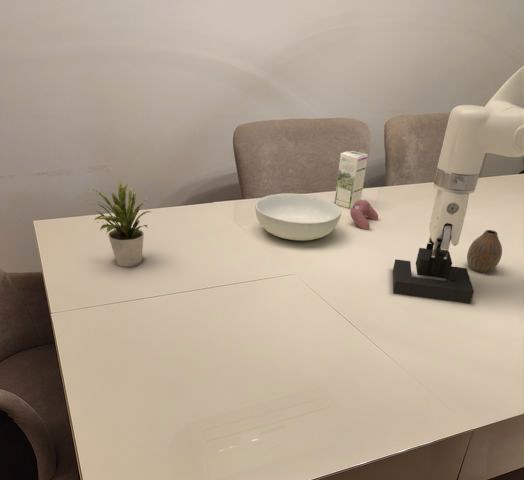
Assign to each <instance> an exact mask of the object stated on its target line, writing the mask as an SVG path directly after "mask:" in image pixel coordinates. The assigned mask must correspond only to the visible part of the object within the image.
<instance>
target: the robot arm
mask: <svg viewBox="0 0 524 480" xmlns="http://www.w3.org/2000/svg"><path fill="white" fill-rule="evenodd" d="M439 153H440V154H439V158H438V161H437V167H436V171H435V174H434V179H433V183H432V186H433V187H434V188H435V189H436V190H437V191H436V194H435V198H434V201H433V205H432V211H431V215H430V220H429V224H428V225H429V227H428V229H429V238H428V242H427V244H426V247H425V249H433V251H432V256H430V257H429V261H428V265H427V269H426V273H425V274H426V276H425V277H428V276H432V277H431V278H436V277H439V278H438V279H441V278H440V277H442V275H443V271H444V267H445V264H446V260H447V255H448V251H449V249H450V245H452V246H454V247H456V246H458V245H459V242H460V238H461V235H462V230H463V226H464V222H465V217H466V214H467V209H468V204H469V198H470V197H469V196H470V194H472V193H474V192H475V190H476V187H477V184H478V180H479V177H480V173H481V170H482V167H483V163H484V159H485V156H486V154H493V155H498V156H503V157H506V158H507V157H508V158H520V157H523V156H524V65H523V66H521V67H520V68H519V69H518V70H517V71H516V72H514V73H513V74H512V75H510V77H509V78H508V79H507V80H505V82H504V83H503V84H502V85H501V86H500V88H499V89H498V90H497V91H496V92H495V93H494V95H492V97H491V98H490V99H489V101H487V103H486V104H485V105H484V106H482V105H475V104H460V105H456V106H455V107H453V108H452V110H451V111H450V113H449V117H448V121H447V125H446V129H445V133H444V137H443V141H442V146H441V150H440V152H439ZM436 250H437V251H436Z"/></svg>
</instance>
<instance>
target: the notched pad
mask: <svg viewBox="0 0 524 480" xmlns="http://www.w3.org/2000/svg"><path fill="white" fill-rule="evenodd" d="M411 263H412V262H411V260H405V259H397V258H396V259H394V261H393V268H392V294H393V295H401V296H409V297H416V298H423V299H430V300H437V301H445V302H452V303H453V302H454V303H461V304H467V305H471V302H472V299H473V296H474V293H475V290H474V287H473V284H472V281H471V278H470V275H469V271H468V269H467V267H460V266H453V265H452V266H451V269H450V273H449V276H448V279H447V280H443V279H435V278H428V277H419V276H413V273H412V264H411Z"/></svg>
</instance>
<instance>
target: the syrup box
mask: <svg viewBox="0 0 524 480" xmlns="http://www.w3.org/2000/svg"><path fill="white" fill-rule="evenodd" d="M368 157H369V154H368V153H364V152H360V151H353V150H347V151H344V152H341V153H340V155H339V164H338V172H337V180H336V189H335V195H334V196H335V198H334V203H335V204H336V205H338V206H339V207H343V208H346V209H350V210H351V208H352V207H353V205H354V203H355V202H356V201H359V200H362V196H363V190H364V189H363V188H364V183H365V177H366V170H367V164H368Z"/></svg>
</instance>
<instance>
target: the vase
mask: <svg viewBox="0 0 524 480" xmlns="http://www.w3.org/2000/svg"><path fill="white" fill-rule="evenodd" d="M502 255H503V246H502V243H501V241H500V239H499V236H498V232H497V231H496V230H492V229H486V230H485V231H484V232H483V233H482V234H481V235H480V236H478V237H477V238H475V239H474V240H473V241H472V243H471V244H470V246H469V247H468V250H467V254H466V262H467V263H466V264H468V267H469V269H471V270H473V271H475V272H476V273H477V272H478V273H485V274H486V273H489V272H492V271H493V270H494V269H496V268H497V266H498V265H499V263H500V261H501V259H502Z"/></svg>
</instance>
